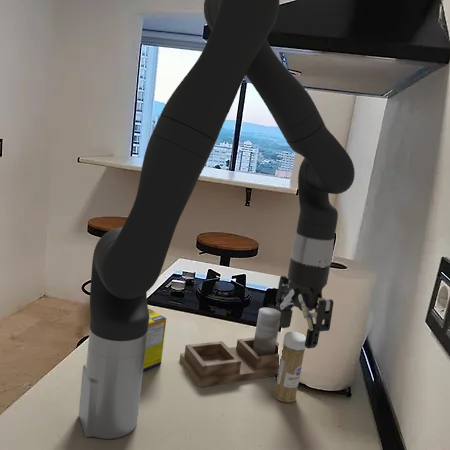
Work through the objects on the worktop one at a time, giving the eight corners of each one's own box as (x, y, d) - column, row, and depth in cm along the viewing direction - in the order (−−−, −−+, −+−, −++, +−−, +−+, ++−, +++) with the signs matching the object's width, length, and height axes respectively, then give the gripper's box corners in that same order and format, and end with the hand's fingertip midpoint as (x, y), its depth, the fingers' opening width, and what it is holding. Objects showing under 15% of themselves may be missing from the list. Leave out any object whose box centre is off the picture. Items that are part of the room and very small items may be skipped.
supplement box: (143, 353, 102) (148, 307, 100) (161, 364, 98) (167, 317, 96) (121, 361, 98) (126, 313, 95) (140, 373, 94) (145, 324, 92)
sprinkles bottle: (290, 406, 90) (303, 343, 87) (269, 397, 92) (281, 335, 90) (299, 396, 94) (311, 336, 91) (278, 387, 96) (289, 328, 93)
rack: (200, 387, 92) (208, 329, 90) (179, 359, 102) (186, 306, 99) (292, 372, 103) (302, 321, 101) (266, 348, 113) (275, 301, 110)
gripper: (273, 247, 91) (261, 322, 95) (319, 271, 79) (303, 357, 83) (304, 247, 95) (291, 319, 98) (351, 270, 83) (335, 352, 86)
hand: (296, 336), depth 91 cm, fingers open, 8 cm apart
